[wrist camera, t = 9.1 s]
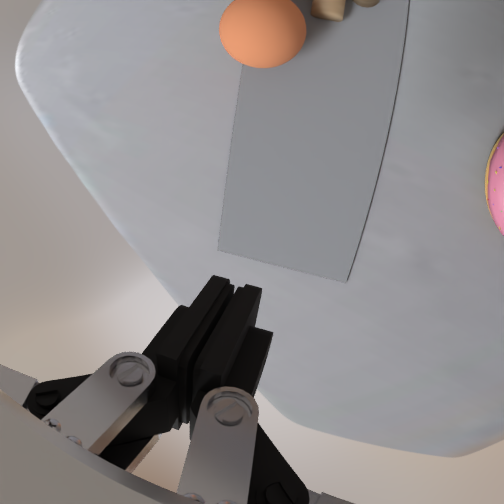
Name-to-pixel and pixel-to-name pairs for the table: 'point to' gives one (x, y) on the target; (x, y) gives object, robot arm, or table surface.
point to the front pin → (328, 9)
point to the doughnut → (496, 183)
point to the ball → (262, 32)
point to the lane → (313, 142)
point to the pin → (366, 3)
